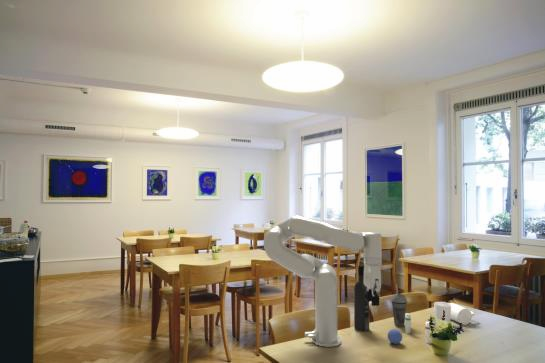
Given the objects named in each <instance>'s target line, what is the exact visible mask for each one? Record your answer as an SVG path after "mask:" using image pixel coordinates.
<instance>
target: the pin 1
mask: <svg viewBox="0 0 545 363" xmlns="http://www.w3.org/2000/svg"><path fill="white" fill-rule="evenodd" d="M411 315H412V314H411V313H407V312H405V323H404V330H405V331H404V333H405V334H410V335H411V333H412V329H411V328H412V327H411V326H412V321H411V320H412V318H411V317H412V316H411Z"/></svg>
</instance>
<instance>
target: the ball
mask: <svg viewBox="0 0 545 363" xmlns="http://www.w3.org/2000/svg"><path fill="white" fill-rule="evenodd" d="M387 339H388V341H389V342H390V343H391V344H392V345H393V344H394V345H399V344H400V343H401V342H402V340H403V335H402V332H401V331H400V330H398V329H397V328H392V329H390V330H388V333H387Z"/></svg>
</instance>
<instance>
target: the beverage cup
mask: <svg viewBox="0 0 545 363" xmlns="http://www.w3.org/2000/svg"><path fill="white" fill-rule="evenodd" d="M395 288H396V293H395V294H393V295H392V298H391V305H392V313H393V315H392V316H393V322H394V326H395V327H398V328H405V313H406V310H407V309H406V307H407V305H408V301H407V300H408V299H407V297H406V296H405V294H403V293H402V292H401V293H400V292H399V290H398V284H397V283H396V284H395Z"/></svg>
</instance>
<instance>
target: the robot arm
mask: <svg viewBox="0 0 545 363" xmlns="http://www.w3.org/2000/svg"><path fill="white" fill-rule="evenodd" d="M296 236H297V237H301V238H306V239H310V240H314V241H317V242H320V243H323V244H327V245H331V246H334V247H338V248H342V249H345V250H348V251H351V252H352V251H353V252H357V251H361V250H363V266H364V285H365V286H366V287H367V301H369V302H371V306H373V307H377V306H378V307H379V306H380V292H381V288H382V270H381V267H382V265H383V264H382V261H383V260H382V258H383V257H382V256H383V254H382V247H383V246H382V234H381V233H380V232H377V231H367V232H363V231H362V232H361V231H355V230H353V231H348V230H344V229H340V228H337V227H334V226H333V225H331V224H329V223H326V222H324V221H319V220H316V219H315V220H314V219H311V218H307V217H304V216H302V215H298V214H297V215H293V216H291V217H290V218H288V219H287V220H285V221H283V222H281V223H279V224H277V225H276V226H274V227H272V228H270V229H269V230H267V232H266V233H264V237H263V249H264V251H265V254H266V256H267V257H268V258H270V260H272V261H273V262H274V263H276V264H278V265H280V266H281V267H282V268H285V269H286V270H288V271H289V272H291V273H293V274H295V275H296V276H298V277H300V278H303V279H308V278H310V279H312V280H313V281H314V292H315V293H314V294H315V295H314V298H315V302H314V305H315V306H314V307H315V309H314V310H315V312H314V313H315V316H314V317H315V328H314V329H313V330H312V331H305V332H304V337H305V338H307V337H308V339H311V342H312V343H313V344H314V343H315V344H314V345H316V346H318V345H319V346H318V347H323V346H324V348H332V347H333V348H334V347H337V346H340V345H341V343H342V339H341V337H339V335H338V334H339V333H338V275H337V271H336V270H335V268H334V267H332V266H331V265H330V264H329V263H327V262H324V261H322V260H321V259H319V258H317V257H315V256H314V255H311V254H309V253H302V254H301V253H298V252H296V251H295V250H293V249H291V248H289V247H287V246H286V245H285V244H284V243H285V242H287V241H289V240H291V239H292V238H294V237H296Z"/></svg>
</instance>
